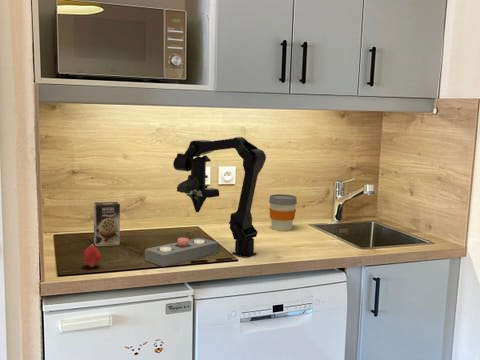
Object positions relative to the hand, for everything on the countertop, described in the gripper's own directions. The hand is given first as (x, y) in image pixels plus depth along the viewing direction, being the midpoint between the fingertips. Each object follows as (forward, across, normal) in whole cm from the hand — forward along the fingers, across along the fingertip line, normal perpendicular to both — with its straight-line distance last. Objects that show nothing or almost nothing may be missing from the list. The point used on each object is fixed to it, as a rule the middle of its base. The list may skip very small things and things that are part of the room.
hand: (197, 212), depth 202 cm
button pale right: (+11, +9, -7) cm, 16 cm away
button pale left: (+11, +9, -23) cm, 27 cm away
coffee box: (+13, -23, -26) cm, 37 cm away
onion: (+13, -1, -46) cm, 48 cm away
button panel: (+13, +9, -15) cm, 22 cm away
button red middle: (+10, +9, -15) cm, 20 cm away
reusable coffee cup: (+13, +5, +48) cm, 50 cm away
